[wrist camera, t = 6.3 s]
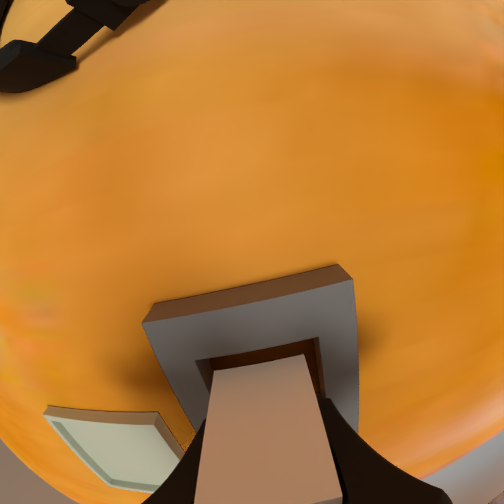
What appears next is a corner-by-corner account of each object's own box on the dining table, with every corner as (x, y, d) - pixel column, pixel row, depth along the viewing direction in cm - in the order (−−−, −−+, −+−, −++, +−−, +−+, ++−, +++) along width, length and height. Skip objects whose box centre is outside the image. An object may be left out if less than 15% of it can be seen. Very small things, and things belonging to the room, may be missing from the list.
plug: (313, 411, 12) (347, 559, 4) (237, 424, 13) (232, 573, 4) (303, 353, 11) (353, 543, 3) (214, 370, 12) (187, 556, 3)
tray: (211, 486, 18) (210, 496, 17) (111, 478, 18) (108, 486, 17) (158, 412, 15) (153, 425, 14) (48, 405, 16) (42, 414, 15)
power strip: (348, 472, 18) (369, 547, 9) (248, 490, 18) (249, 567, 10) (338, 264, 13) (444, 383, 4) (154, 303, 13) (69, 435, 5)
